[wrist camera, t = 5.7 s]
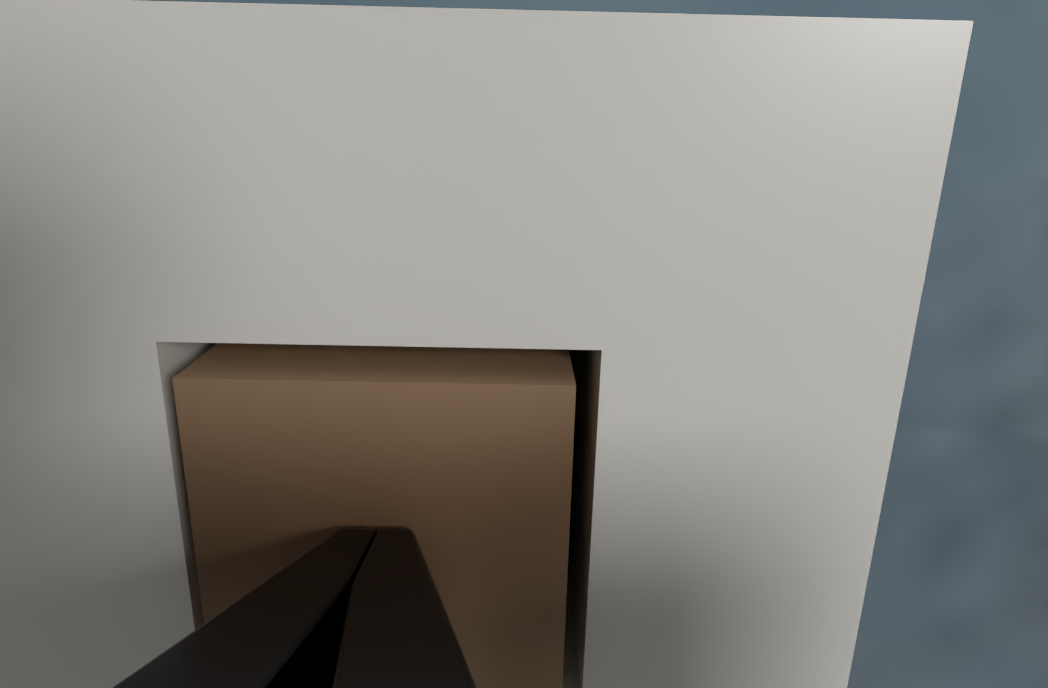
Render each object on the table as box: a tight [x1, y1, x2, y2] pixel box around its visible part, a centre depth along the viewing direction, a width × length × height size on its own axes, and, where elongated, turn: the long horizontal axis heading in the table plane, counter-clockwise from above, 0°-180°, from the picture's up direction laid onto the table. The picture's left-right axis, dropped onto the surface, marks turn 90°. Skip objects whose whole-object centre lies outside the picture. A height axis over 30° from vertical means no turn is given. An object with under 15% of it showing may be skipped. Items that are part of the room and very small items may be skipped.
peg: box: [172, 343, 576, 688], centre depth 11 cm, size 4×4×5 cm
